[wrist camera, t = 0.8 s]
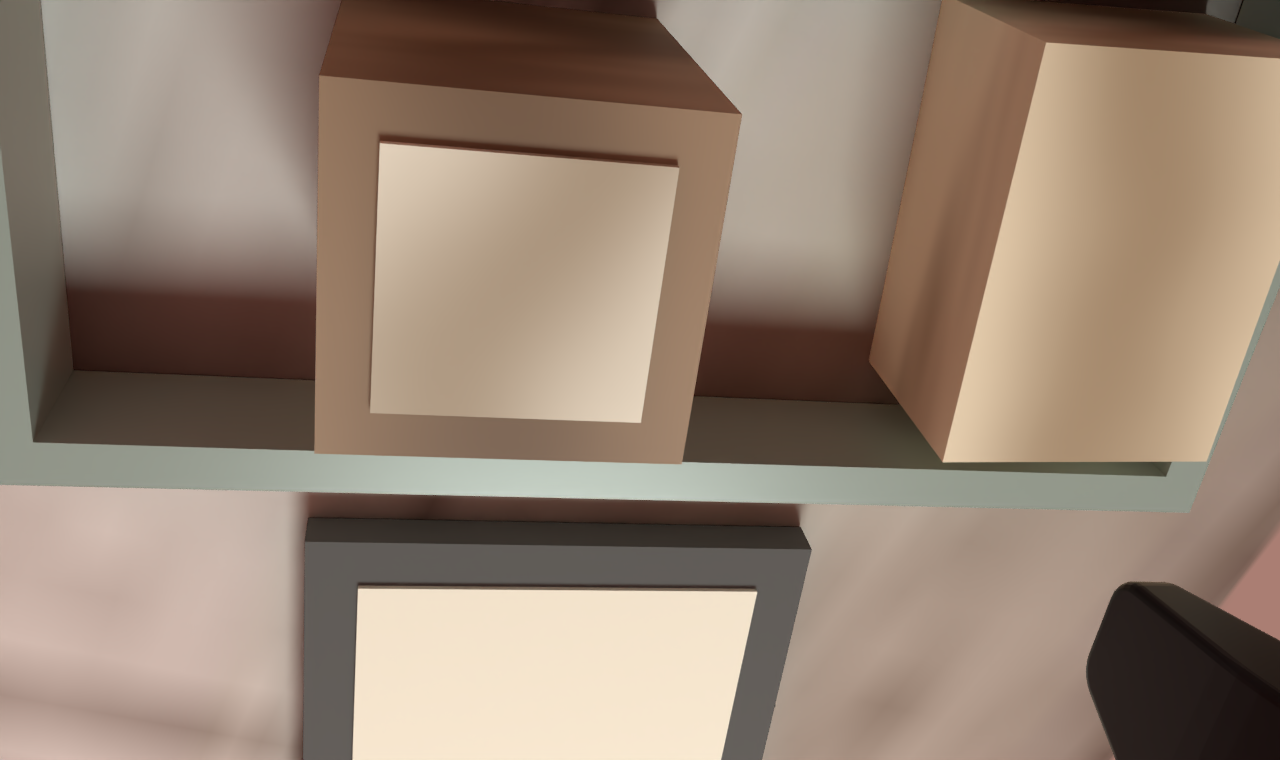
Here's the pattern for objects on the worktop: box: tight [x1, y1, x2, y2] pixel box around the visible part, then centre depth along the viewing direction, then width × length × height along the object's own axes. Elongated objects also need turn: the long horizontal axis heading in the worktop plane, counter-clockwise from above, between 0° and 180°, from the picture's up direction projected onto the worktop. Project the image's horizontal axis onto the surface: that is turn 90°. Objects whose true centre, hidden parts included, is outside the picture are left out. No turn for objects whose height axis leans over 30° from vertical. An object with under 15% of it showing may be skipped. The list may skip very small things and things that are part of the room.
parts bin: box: [0, 0, 1280, 513], centre depth 20 cm, size 22×11×2 cm, turn 82°
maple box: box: [869, 0, 1280, 462], centre depth 21 cm, size 5×7×4 cm
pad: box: [303, 518, 812, 760], centre depth 25 cm, size 10×8×1 cm
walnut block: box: [314, 0, 742, 464], centre depth 18 cm, size 5×5×6 cm
